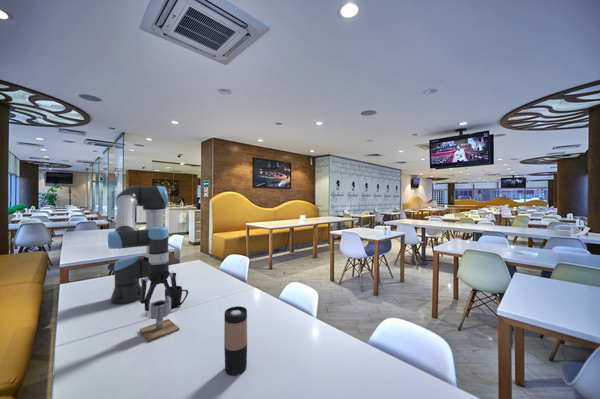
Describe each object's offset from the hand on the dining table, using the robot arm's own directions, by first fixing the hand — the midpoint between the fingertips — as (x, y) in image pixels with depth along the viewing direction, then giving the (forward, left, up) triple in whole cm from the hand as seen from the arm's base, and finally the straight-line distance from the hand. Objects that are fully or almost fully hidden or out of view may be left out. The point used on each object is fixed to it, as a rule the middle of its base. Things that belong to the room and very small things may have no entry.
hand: (159, 314), depth 109 cm
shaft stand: (0, 0, -7) cm, 7 cm away
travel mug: (+45, +9, -8) cm, 46 cm away
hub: (0, 0, 0) cm, 0 cm away
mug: (-19, +15, -8) cm, 25 cm away
